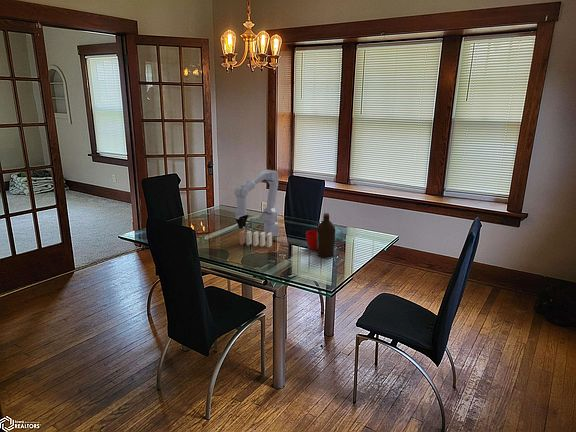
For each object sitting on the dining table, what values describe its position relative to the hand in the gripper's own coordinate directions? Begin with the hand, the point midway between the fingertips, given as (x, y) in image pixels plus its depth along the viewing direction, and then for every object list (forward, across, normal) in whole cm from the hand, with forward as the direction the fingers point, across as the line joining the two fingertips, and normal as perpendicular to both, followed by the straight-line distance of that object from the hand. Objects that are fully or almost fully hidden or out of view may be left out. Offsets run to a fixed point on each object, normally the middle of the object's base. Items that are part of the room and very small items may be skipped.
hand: (242, 227), depth 255 cm
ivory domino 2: (+10, 0, +9) cm, 14 cm away
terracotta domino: (+10, 0, 0) cm, 10 cm away
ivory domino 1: (+10, 0, +4) cm, 11 cm away
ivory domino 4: (+10, 0, +18) cm, 21 cm away
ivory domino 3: (+10, 0, +14) cm, 17 cm away
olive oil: (+11, +6, +55) cm, 56 cm away
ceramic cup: (+11, -5, +46) cm, 48 cm away
